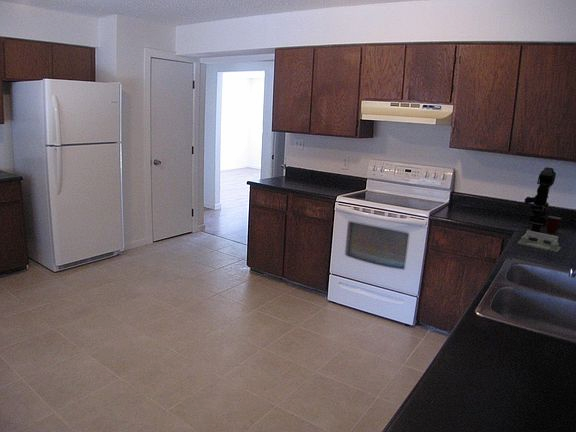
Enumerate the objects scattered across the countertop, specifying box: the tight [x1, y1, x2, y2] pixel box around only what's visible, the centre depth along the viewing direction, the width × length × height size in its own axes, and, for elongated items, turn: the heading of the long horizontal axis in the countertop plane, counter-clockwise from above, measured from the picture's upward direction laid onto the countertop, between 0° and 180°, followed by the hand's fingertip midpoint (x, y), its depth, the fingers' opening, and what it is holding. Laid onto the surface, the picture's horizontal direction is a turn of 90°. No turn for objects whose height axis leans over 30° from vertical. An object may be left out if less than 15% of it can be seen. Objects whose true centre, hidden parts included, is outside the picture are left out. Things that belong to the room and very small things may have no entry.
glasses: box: [524, 229, 559, 244], centre depth 261 cm, size 9×16×3 cm, turn 52°
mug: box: [545, 215, 562, 234], centre depth 299 cm, size 10×8×10 cm
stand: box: [517, 234, 562, 253], centre depth 261 cm, size 11×20×4 cm, turn 52°
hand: (536, 219), depth 273 cm, fingers open, 9 cm apart
